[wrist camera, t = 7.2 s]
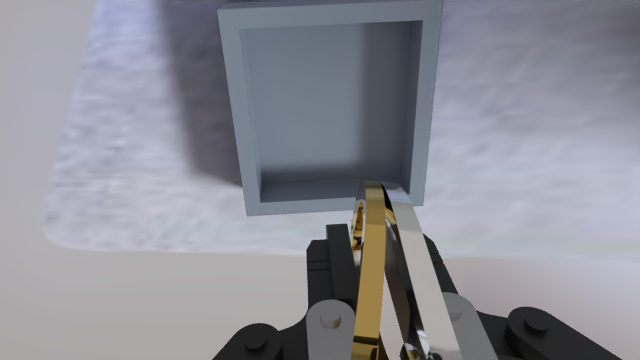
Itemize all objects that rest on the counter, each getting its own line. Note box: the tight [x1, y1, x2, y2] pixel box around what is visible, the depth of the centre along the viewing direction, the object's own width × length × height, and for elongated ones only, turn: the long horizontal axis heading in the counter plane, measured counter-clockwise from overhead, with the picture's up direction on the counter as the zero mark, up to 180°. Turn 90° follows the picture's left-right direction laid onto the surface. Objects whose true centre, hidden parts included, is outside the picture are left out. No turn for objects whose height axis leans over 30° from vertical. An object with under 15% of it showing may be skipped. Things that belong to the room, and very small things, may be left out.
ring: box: [349, 181, 463, 360], centre depth 12 cm, size 7×3×8 cm, turn 176°
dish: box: [217, 0, 443, 216], centre depth 27 cm, size 12×13×4 cm
